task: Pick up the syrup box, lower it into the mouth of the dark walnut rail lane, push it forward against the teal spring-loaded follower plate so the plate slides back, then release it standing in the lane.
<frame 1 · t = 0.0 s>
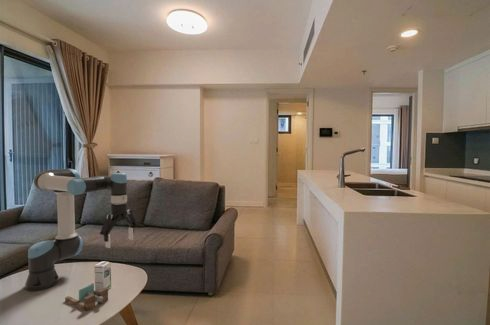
hand: (119, 243, 140), 28 cm above the table, fingers open, 13 cm apart
lane: (86, 300, 137), on the table
syrup box: (103, 289, 148), on the table
pusher: (93, 296, 134), point 4 cm above the table, slide at 0.0 cm
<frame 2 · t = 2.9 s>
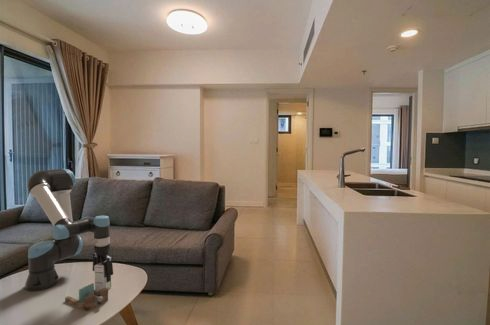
hand: (103, 285, 148), 2 cm above the table, fingers closed on syrup box, 7 cm apart
syrup box: (103, 289, 148), on the table, touching gripper
everything else where it was.
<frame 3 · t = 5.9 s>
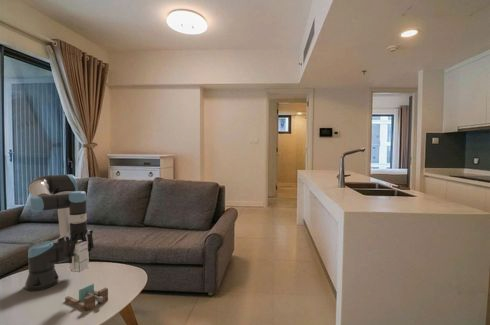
hand: (79, 265, 139), 17 cm above the table, fingers closed on syrup box, 7 cm apart
syrup box: (79, 270, 139), point 15 cm above the table, touching gripper
everything else where it was.
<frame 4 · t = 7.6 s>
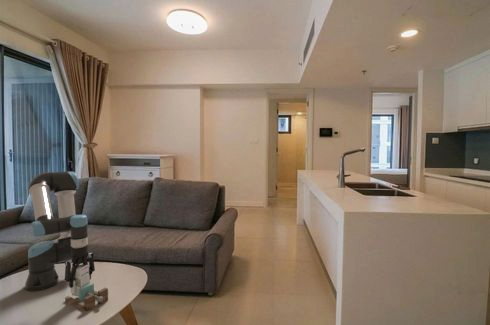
hand: (80, 289, 139), 5 cm above the table, fingers closed on syrup box, 7 cm apart
syrup box: (80, 293, 139), point 2 cm above the table, touching gripper
everything else where it was.
when the fingers open (5 cm above the table, at t = 8.8 s): syrup box drops 2 cm, on the table.
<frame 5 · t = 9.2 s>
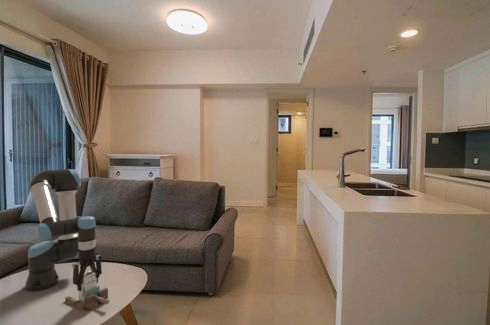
hand: (88, 292, 136), 4 cm above the table, fingers open, 6 cm apart
syrup box: (87, 301, 136), on the table, touching gripper
pusher: (99, 298, 132), point 4 cm above the table, slide at 4.7 cm
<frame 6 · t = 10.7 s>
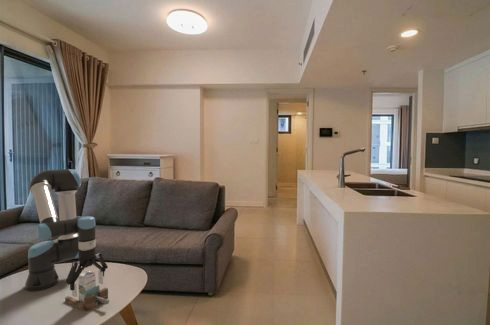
hand: (88, 289, 136), 6 cm above the table, fingers open, 13 cm apart
syrup box: (87, 301, 136), on the table
everything else where it was.
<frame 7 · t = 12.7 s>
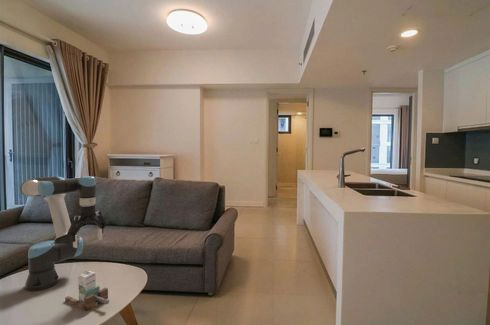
hand: (88, 243, 147), 25 cm above the table, fingers open, 13 cm apart
nothing on the table moved.
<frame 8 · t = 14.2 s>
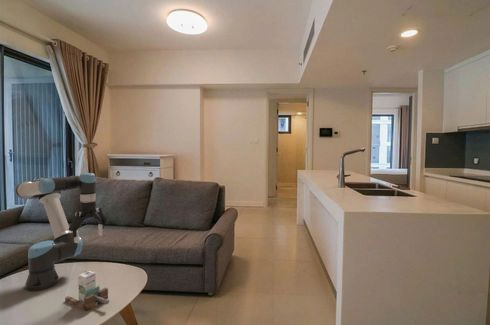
hand: (89, 238, 151), 27 cm above the table, fingers open, 13 cm apart
nothing on the table moved.
at the end: syrup box inside the target area (1.9 cm from its centre), on the table; syrup box tilted 0°; pusher slide at 4.7 cm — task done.
